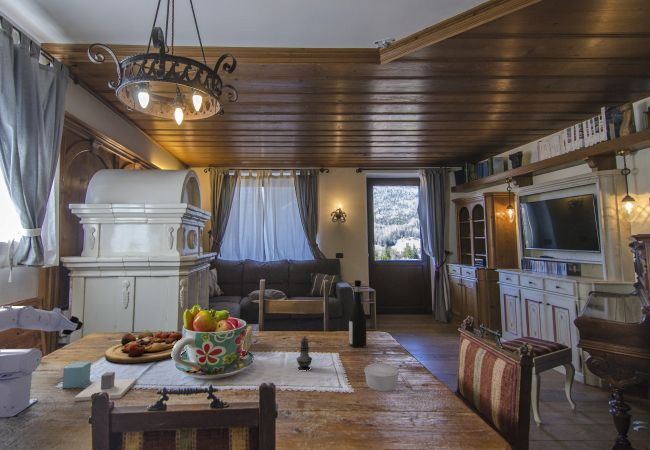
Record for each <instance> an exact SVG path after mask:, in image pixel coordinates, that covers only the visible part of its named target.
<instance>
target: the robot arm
mask: <svg viewBox="0 0 650 450" xmlns="http://www.w3.org/2000/svg"><path fill="white" fill-rule="evenodd" d="M61 312H62V309H61V308H58V307H54V308H53V309H52V310H50V309H47V308H41V309H39V308H34V307H33V306H32V305H29V306H28V305H19V306H17V305H16V306H13V305H6V306H5V305H3V306H0V332H3V331H8V330H10V329H22V330H34V331H37V330H38V331H44V332H55V331H62V332H61V334H62V335H68V336H70V335H72V333H74V332H76V331H78V330H81V329H82V326H84V325H83V324H84V323H83V322H82V321H80V320H79V319H80V318H79V317H77V316H74V315H72V316H71V317H70V318H69V319H68V318H67V316H64V314H62V313H61ZM42 354H43V353H42V351H41V350H40V348H37V347H36V348H35V347H34V348H20V349H19V348H15V349H14V348H13V349H11V348H10V349H9V348H8V349H7V348H1V349H0V418H12V417H15V416H16V415H18V414H19V413H20V412H23V410H25V409H27V408H28V407H30V406H31V405H33V404H35V403H36V402H38V401H39V399H38V398H31V393H32V392H31V389H32V376H33V373H34V372H35V371H36V370H37V369H38V367H39V366H40V364H41V362H42V361H43V360H42V359H43V355H42Z"/></svg>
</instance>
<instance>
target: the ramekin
mask: <svg viewBox="0 0 650 450" xmlns="http://www.w3.org/2000/svg"><path fill="white" fill-rule="evenodd" d="M363 372H364V374H365V380H366V384H367V386H368V387H369V389H371V390H374V391H378V392H391V391H393V390H395V389H396V388H397V386H398V380H399V375H400V370H399V369H398V368H397V367H396V366H394V365H391V364H387V363H371V364H368V365H366V366H365V367H364V371H363Z"/></svg>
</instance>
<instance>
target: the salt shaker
mask: <svg viewBox="0 0 650 450" xmlns="http://www.w3.org/2000/svg"><path fill="white" fill-rule="evenodd" d="M299 350H300V351H299V352H300V354H299V356H297V357H296V361H297V364H298V365H299V366H297V368H298V369H299V370H306V371H305V372H308V371H307V370H309V369H310V367H311V366H310V365H311V363H312V361H313V358H312V357H311V356H310V355H309V350H310V347H309V339H308V338H307V337H306V335H304V336H303V338H301V339H300V348H299ZM299 370H298V371H299ZM309 371H310V370H309Z"/></svg>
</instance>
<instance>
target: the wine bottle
mask: <svg viewBox="0 0 650 450" xmlns="http://www.w3.org/2000/svg"><path fill="white" fill-rule="evenodd" d="M361 289H362V280H357V279H356V280H354V303H353V306H352V309H351V311H350V313H349V318H348V319H349V320H348V321H349V322H348V344H349V346H350V347H352V348H355V347H362V348H365V347H366V346H367V317H366V313H365V311H364V310H365V309H364V308H363V304H362V300H361V299H362V298H361V294H362V293H361V292H362V291H361ZM364 346H365V347H364Z"/></svg>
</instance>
